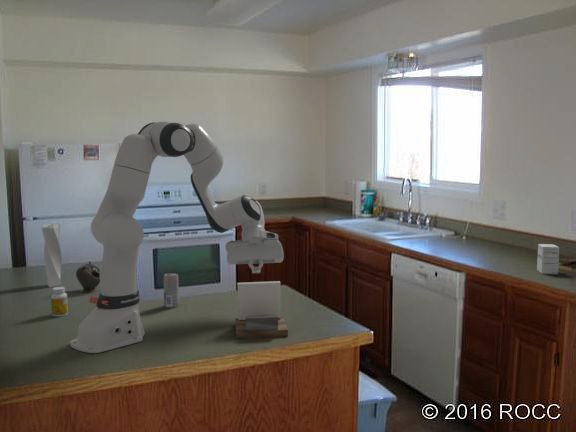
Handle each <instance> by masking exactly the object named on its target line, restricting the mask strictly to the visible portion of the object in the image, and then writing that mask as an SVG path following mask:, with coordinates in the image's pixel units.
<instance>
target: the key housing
mask: <svg viewBox="0 0 576 432" xmlns="http://www.w3.org/2000/svg"><path fill="white" fill-rule="evenodd" d="M234 322H235V324H234V325H235V326H234V327H235V334H236V335H235V337H236V339H238V340H239V339H255V338H256V339H257V338H276V337H279V338H280V337H289V329H288V327H287V324H286V320H285V318H284V316H282V315H281V318H278V316H277V314H267V315H245V320H238V318H234Z"/></svg>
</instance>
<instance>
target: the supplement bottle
mask: <svg viewBox="0 0 576 432" xmlns="http://www.w3.org/2000/svg"><path fill="white" fill-rule="evenodd" d="M50 301H51V303H50V306H51V315H52V317H65V316H67V315H68V314H69V305H68V304H69V303H68V293H66V288H65V286H56V287H52V294H51V296H50Z"/></svg>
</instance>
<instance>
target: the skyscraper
mask: <svg viewBox="0 0 576 432" xmlns="http://www.w3.org/2000/svg"><path fill="white" fill-rule="evenodd" d="M55 224H58V226H57V225H55ZM60 231H61V224H60V223H59V222H58V221H52V222H51V223H50V224H44V225H42V226H41V232H42V235H43V239H44V246H43V247H44V248H43V251H44V252H43V256H44V257H43V258H44V268H45V273H46V278H47V283H46V285H47V286H48V287H49V288H55V287H63V283H62V280H61V278H62V277H61V276H62V265H63V263H62V261H63V259H62V258H63V256H62V250H61V245H60V242H59V239H60V238H59V237H60V233H61V232H60Z"/></svg>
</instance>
